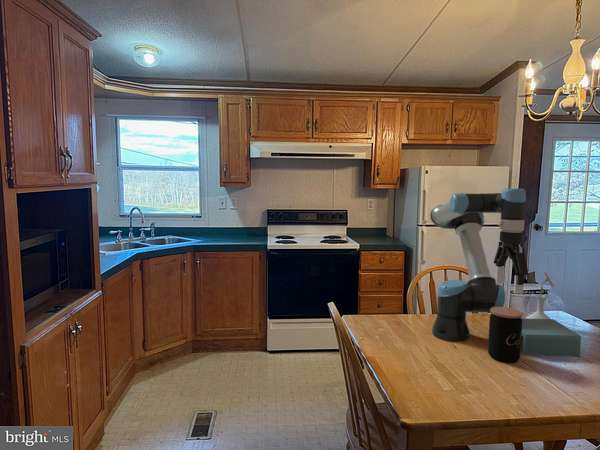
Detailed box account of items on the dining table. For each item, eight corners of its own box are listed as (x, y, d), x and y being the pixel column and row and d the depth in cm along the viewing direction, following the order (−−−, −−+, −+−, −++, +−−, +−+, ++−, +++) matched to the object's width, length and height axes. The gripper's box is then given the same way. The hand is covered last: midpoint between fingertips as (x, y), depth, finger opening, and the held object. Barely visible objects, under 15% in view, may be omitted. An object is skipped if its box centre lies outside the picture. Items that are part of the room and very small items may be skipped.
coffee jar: (508, 366, 136) (510, 317, 134) (481, 354, 145) (483, 309, 143) (526, 360, 140) (529, 313, 139) (499, 349, 150) (501, 305, 148)
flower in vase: (549, 331, 167) (553, 276, 165) (521, 324, 176) (524, 271, 173) (558, 324, 176) (562, 271, 173) (531, 318, 185) (534, 267, 182)
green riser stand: (524, 354, 145) (525, 334, 144) (503, 336, 163) (504, 318, 162) (579, 356, 143) (581, 335, 143) (551, 337, 161) (553, 319, 160)
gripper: (486, 227, 150) (483, 279, 153) (519, 235, 126) (515, 298, 128) (505, 227, 150) (502, 279, 152) (542, 235, 125) (538, 298, 127)
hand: (508, 288), depth 140 cm, fingers open, 13 cm apart
